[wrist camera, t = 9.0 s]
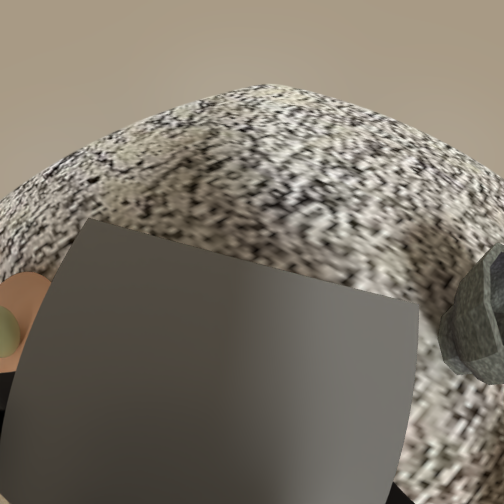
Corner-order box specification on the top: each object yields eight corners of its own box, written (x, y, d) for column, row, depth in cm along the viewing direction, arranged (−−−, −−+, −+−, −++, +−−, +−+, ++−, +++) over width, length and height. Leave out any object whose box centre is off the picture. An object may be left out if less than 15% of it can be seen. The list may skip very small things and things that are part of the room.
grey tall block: (265, 483, 10) (325, 610, 1) (147, 447, 11) (-4, 490, 1) (296, 376, 14) (419, 304, 4) (181, 344, 14) (88, 217, 5)
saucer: (31, 442, 10) (-16, 441, 6) (-24, 340, 13) (-61, 320, 9) (106, 345, 15) (66, 321, 11) (37, 256, 18) (6, 222, 14)
